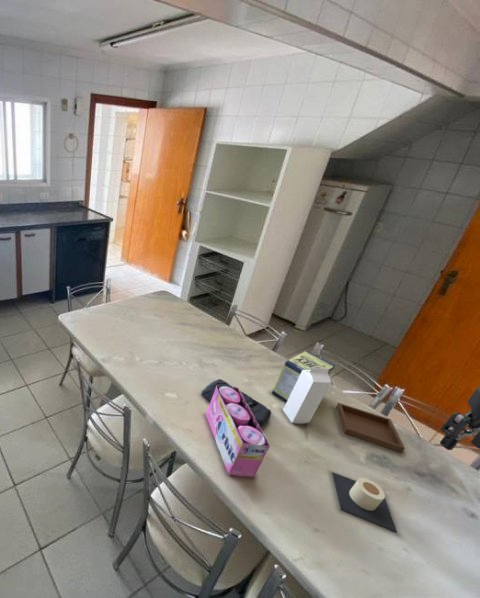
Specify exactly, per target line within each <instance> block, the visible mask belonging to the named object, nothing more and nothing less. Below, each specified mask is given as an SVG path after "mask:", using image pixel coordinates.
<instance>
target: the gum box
mask: <svg viewBox="0 0 480 598" xmlns="http://www.w3.org/2000/svg"><path fill="white" fill-rule="evenodd" d="M232 387H233V388H230V387H226V386H225V387H220V388H219V385H218V386H216V389H215V392H214V394H213V397H212V400H211V402H209V406H208V408H207V411H206V414H205V416H206V419H207V421H208V425H209V428H210V429H211V432H212V435H213V438H214V440H215V443H216V446H217V448H218V449H217V450H218V451H219V453H220V456H221V460H222V461H223V464H224V467H225V470H226V472H227V474H228V475H229V476H238V477H251V478H255V477H256V475H257V473H258V471H259V469H260V466H261V465H262V463H263V462H264V459H265V457H266V455H267V454H268V452H269V449H270V447H271V444H270V443H269V440H268V438H267V436H266V435H265V433H264V431H263V430H262V428H261V426H259V424H258V423H257V421H256V419H255V417H254V415H253V414H252V412H251V410H250V408H249V406H248V405H247V403H246V401H245V399H244V397H243V395H242V394H241V392H242V391H241V390H240V389H239V387H237V386H232ZM240 391H241V392H240Z"/></svg>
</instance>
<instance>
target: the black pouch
mask: <svg viewBox="0 0 480 598" xmlns="http://www.w3.org/2000/svg"><path fill="white" fill-rule="evenodd" d="M218 385H219V388H220V387H225V386H226V387H230V388H233V387H234V386H232V385H230V384H229V383H228V382H226V381H225V380H223V379H221V378H218V379H216V380H214V381H212V382H210V383H209V384H208V385H206V387H205V388H204V389H202V391H201V393H200V395H201V397H203V399H205V400H206V401H207V402H209V403H210V402H211V400H212V397H213V394H214V392H215V389H216V386H218ZM240 392H241V394H242V395H243V397H244V399H245V401H246V403H247V405H248V406H249V408H250V410H251V412H252V414H253V415H254V417H255V419H256V421H257V423H258V424H259V426H260V427H263V426H264V425H266V423H267V422H268V421H269V420H270V417H271V415H272V411H271V409H270V408H268V407H267V406H266V405H264V404H262V403H261V402H259V401H257V400H255V399H254V398H252V397H251V396H249V395H248V394H246V393H245V392H243V391H242V390H240Z"/></svg>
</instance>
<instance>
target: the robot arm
mask: <svg viewBox="0 0 480 598" xmlns="http://www.w3.org/2000/svg"><path fill="white" fill-rule="evenodd" d="M467 404H468V406H469V407H470V410H469V411H467V412H466V413H465V414H461V413H460V412H459V411H456V412H453V414H452V415H451V416H450V417H449V418H448V420H447V421H446V422H445V423H444V424H443V426H442V427H440V431H441V432H443V433H444V434H445V435H444V436H443V437H442V439H441V440H439V444H440V445H441V446H442V447H443V448H444V449H446V450H447V451H453V450H454V448H455V447H456V446H457V445H458V444H459V442H460V441H461V440H462V439H464V438H466V437H473V436H474V437H473V438H472V439H471V441H470V443H471V445H473V446H474V447H476V448H477V449H479V450H480V385H479V386H478V387H477V388H476V389H475V390H474V392H473V393H472V394H471V395H470V397H469V398H468V400H467ZM466 427H467V428H468V429H467V428H466Z"/></svg>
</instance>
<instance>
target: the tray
mask: <svg viewBox="0 0 480 598" xmlns="http://www.w3.org/2000/svg"><path fill="white" fill-rule="evenodd" d="M335 408H336V412H337V415H338V419H339V422H340V426H341V428H342V432H343V434H345V435H347V436H351V437H353V438H357V439H359V440H362V441H364V442H368V443H371V444H373V445H377V446H380V447H383V448H385V449H388V450H391V451H394V452H397V453H400V454H402V453H403V452H404V450H405V449H406V448H405V445H404V443H403V441H402V439H401V437H400V435H399V433H398V431H397V429H396V427H395V425H394V423H393V421H392V419H391V418H388V417H385V416H382V415H378V414H376V413H372V412H369V411H366V410H363V409H359V408H356V407H355V406H350V405H348V404H344V403H341V402H337V405H336V406H335Z"/></svg>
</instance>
